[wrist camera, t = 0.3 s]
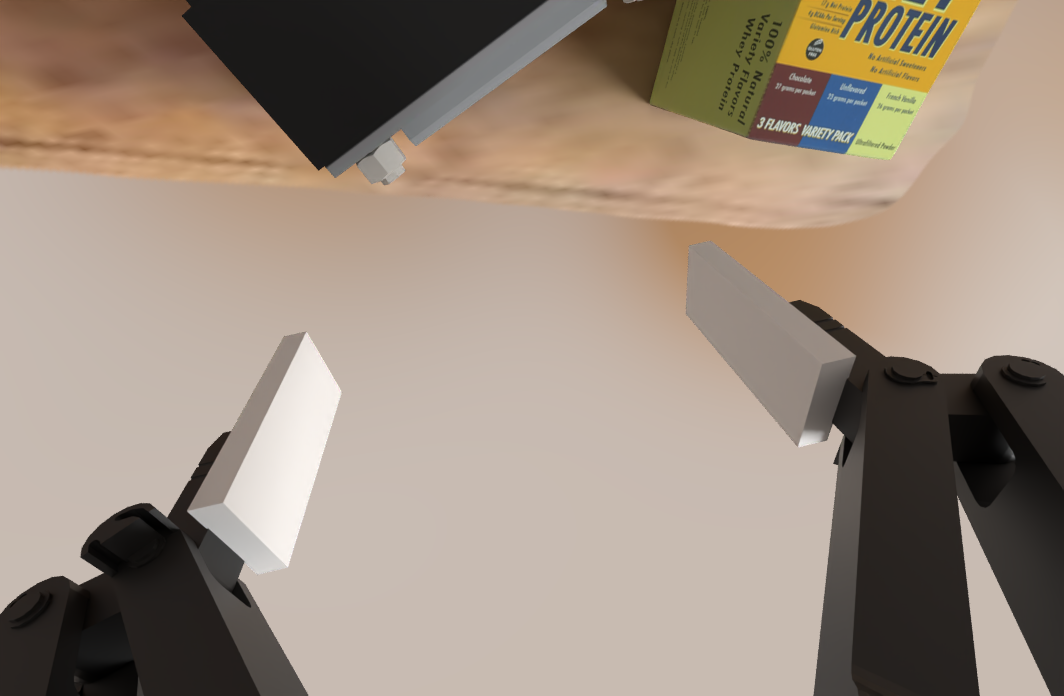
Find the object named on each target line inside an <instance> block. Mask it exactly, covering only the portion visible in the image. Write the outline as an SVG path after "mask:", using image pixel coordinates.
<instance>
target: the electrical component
mask: <svg viewBox="0 0 1064 696" xmlns="http://www.w3.org/2000/svg"><path fill="white" fill-rule="evenodd" d="M186 1H187V2H188V3H189V4H190V6H191V8H190V9H189V10H187V11H186V12H185V13H184V14H183V15H182V17H183V18H184V19H185V20H186V21H187V22H188V24H189V25H190V26H191V27H192V28H193V29H194V30H195V32H196V33H197V34H198V35H199V36H200V37H201V38H202V39H203V41H204V42H205V43H206V44H207V45H208V46H209V47H210V48H211V50H212V51H213V52H214V53H215V54H216V55H217V56H218V58H219V59H220V60H221V61H222V62H223V63H224V64H225V65H226V67H227V68H228V69H229V70H230V71H231V72H232V73H233V74H234V76H235V77H236V78H237V79H238V80H239V81H240V82H241V84H242V85H243V86H244V87H245V88H246V89H247V90H248V91H249V93H250V94H251V95H252V96H253V97H254V98H255V99H256V100H257V102H258V103H259V104H260V105H261V106H262V107H263V108H264V110H265V111H266V112H267V113H268V114H269V115H270V116H271V117H272V119H273V120H274V121H275V122H276V123H277V124H278V125H279V126H280V128H281V129H282V130H283V131H284V132H285V133H286V134H287V136H288V137H289V138H290V139H291V140H292V141H293V142H294V143H295V145H296V146H297V147H298V148H299V149H300V150H301V151H302V152H303V154H304V155H305V156H306V157H307V158H308V159H309V160H310V162H311V163H312V164H313V165H314V166H315V167H316V168H317V169H318V171H319V170H320V169H321V168H323V167H324V166H325V167H326V168H327V169H328V171H329V172H330V173H331V174H332V175H333V176H334V178H336V177H337V176H339V175H340V174H342V173H343V172H344V171H346V170H347V169H348V168H350V167H351V166H352V165H354V164H355V163H356V164H357V167H358V168H359V169H360V171H361V172H362V173H363V174H364V175H365V177H366V178H367V179H368V180H369V181H370V183H371V184H373V183H377V182H380V181H381V182H382V183H383V184H384V185H387V184H390V183H391V182H393V181H394V180H395V179H397V178H398V177H399V176H400V175H401V174H402V173H403V172H404V171H405V169H404V168H403V166H402V165H401V164H402V163H403V162H404V161H405V160H406V157H405V155H404V154H403V153H402V151H401V150H400V149H399V147H398V146H397V144H396V143H395V142H394V140H393V139H392V138H391V136H392V135H394V134H395V133H396V132H398V131H399V130H400V129H402V131H403V132H404V133H405V135H406V136H407V137H408V139H409V140H410V141H411V142H412V143H413V144H414V145H415V146H417V145H418V144H420V143H421V142H422V141H424V140H425V139H426V138H428V137H429V136H431V135H432V134H433V133H435V132H436V131H437V130H439V129H440V128H442V127H443V126H444V125H446V124H447V123H448V122H450V121H451V120H452V119H454V118H455V117H457V116H458V115H459V114H461V113H462V112H463V111H465V110H466V109H468V108H469V107H470V106H472V105H473V104H474V103H476V102H477V101H478V100H480V99H481V98H483V97H484V96H485V95H487V94H488V93H489V92H491V91H492V90H493V89H495V88H496V87H498V86H499V85H500V84H502V83H503V82H504V81H506V80H507V79H509V78H510V77H511V76H513V75H514V74H515V73H517V72H518V71H519V70H521V69H522V68H524V67H525V66H526V65H528V64H529V63H530V62H532V61H533V60H535V59H536V58H537V57H539V56H540V55H541V54H543V53H544V52H545V51H547V50H548V49H550V48H551V47H552V46H554V45H555V44H556V43H558V42H559V41H560V40H562V39H563V38H565V37H566V36H567V35H569V34H570V33H571V32H573V31H574V30H576V29H577V28H578V27H580V26H581V25H582V24H584V23H585V22H586V21H588V20H589V19H591V18H592V17H593V16H595V15H596V14H597V13H599V12H600V11H602V10H603V9H604V8H606V7H607V2H606V0H186ZM634 1H635V0H623V2H624V3H631V2H634ZM637 1H642V0H637Z"/></svg>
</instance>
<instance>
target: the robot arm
mask: <svg viewBox="0 0 1064 696" xmlns="http://www.w3.org/2000/svg"><path fill="white" fill-rule="evenodd" d="M686 314H687V316H688V317H689V318H690V319H691V320H692V322H693V323H694V324H695V325H696V326H697V327H698V329H699V330H700V331H701V332H702V334H703V335H704V336H705V337H706V338H707V340H708V341H709V342H710V343H711V344H712V345H713V346H714V348H715V349H716V350H717V351H718V353H719V354H720V355H721V356H722V357H723V358H724V360H725V361H726V362H727V363H728V365H730V367H731V368H732V369H733V370H734V372H735V373H736V374H737V375H738V376H739V378H740V379H741V380H742V381H743V382H744V384H745V385H746V386H747V387H748V388H749V389H750V391H751V392H752V393H753V394H754V395H755V397H756V398H757V399H758V400H759V401H760V403H761V404H762V405H763V406H764V407H765V409H766V410H767V411H768V412H769V413H770V415H771V416H772V417H773V418H774V419H775V420H776V422H777V423H778V424H779V425H780V426H781V427H782V429H783V430H784V431H785V432H786V434H787V435H788V436H789V437H790V438H791V440H792V441H793V442H794V443H795V444H796V445H797V447H801V446H805V445H810V444H814V443H818V442H822V441H826V440H827V439H828V436H829V433H830V430H831V427H832V424H834V425H835V426H836V427H837V428H838V429H839V430H840V431H841V432H842V433H843V434H844V436H843V439H842V442H841V444H840V447H839V450H838V452H837V455H836V458H835V460H834V463H833V464H836V465H838V473H837V483H836V492H835V502H834V510H833V519H832V529H831V538H830V547H829V557H828V566H827V576H826V585H825V594H824V603H823V613H822V623H821V631H820V642H819V650H818V660H817V669H816V679H815V688H814V696H980V695H979V686H978V677H977V668H976V659H975V650H974V641H973V632H972V623H971V615H970V607H969V597H968V588H967V579H966V571H965V561H964V552H963V544H962V535H961V526H960V517H959V508H958V499H957V496H958V498H959V500H960V502H961V504H962V506H963V508H964V511H965V513H966V515H967V517H968V519H969V521H970V523H971V525H972V527H973V530H974V532H975V534H976V536H977V538H978V540H979V542H980V545H981V547H982V549H983V551H984V553H985V555H986V557H987V560H988V562H989V564H990V566H991V568H992V570H993V572H994V574H995V577H996V578H997V581H998V583H999V585H1000V587H1001V589H1002V591H1003V593H1004V596H1005V598H1006V600H1007V602H1008V604H1009V606H1010V608H1011V611H1012V613H1013V615H1014V617H1015V619H1016V621H1017V623H1018V626H1019V628H1020V630H1021V632H1022V634H1023V636H1024V638H1025V640H1026V643H1027V645H1028V647H1029V649H1030V651H1031V653H1032V655H1033V657H1034V660H1035V662H1036V664H1037V666H1038V668H1039V670H1040V672H1041V675H1042V676H1043V679H1044V681H1045V683H1046V685H1047V687H1048V689H1049V691H1050V694H1051V696H1064V375H1063V374H1061V373H1060V372H1059V371H1057V370H1056V369H1054V368H1052V367H1050V366H1048V365H1046V364H1044V363H1042V362H1039V361H1036V360H1032V359H1029V358H1025V357H1017V356H1010V355H1005V356H1004V355H1003V356H993V357H990V358H988V359H985V360H984V362H983V363H982V365H981V366H980V368H979V370H978V372H977V373H976V374H939V373H938V372H937V371H936V370H934V369H933V368H932V367H930V366H928V365H926V364H924V363H922V362H920V361H917V360H912V359H909V358H904V357H885V356H883V355H882V354H881V353H880V352H878V351H877V350H876V349H874V348H873V347H872V346H870V345H869V344H868V343H866V342H865V341H863V340H862V339H861V338H859V337H858V336H857V335H855V334H854V333H853V332H851V331H850V330H849V329H847V328H844V326H843V325H842V324H840V323H839V322H838V321H837V320H833V318H832V317H831V316H830V315H829V314H827V313H826V312H824V311H823V310H822V309H820V308H819V307H817V306H814V305H812V304H809V303H806V302H804V301H801V300H798V301H793V302H787V301H786V300H785V299H784V298H782V297H781V296H780V295H779V294H777V293H776V292H775V291H774V290H772V289H771V288H770V287H769V286H767V285H766V284H765V283H764V282H762V281H761V280H760V279H758V278H757V277H756V276H755V275H753V274H752V273H751V272H750V271H748V270H747V269H746V268H745V267H743V266H742V265H741V264H740V263H738V262H737V261H736V260H735V259H733V258H732V257H731V256H730V255H728V254H727V253H726V252H724V251H723V250H722V249H721V248H719V247H718V246H717V245H716V244H714V243H713V242H712V241H707V242H703V243H698V244H694V245H690V246H689V256H688V277H687V299H686ZM341 393H342V392H341V390H340V388H339V386H338V385H337V383H336V381H335V380H334V378H333V376H332V374H331V373H330V371H329V369H328V368H327V366H326V364H325V362H324V361H323V359H322V358H321V356H320V354H319V352H318V350H317V349H316V347H315V345H314V343H313V342H312V340H311V338H310V337H309V335H308V333H307V332H302V333H298V334H294V335H289V336H284V337H283V339H282V341H281V343H280V344H279V346H278V348H277V350H276V352H275V353H274V355H273V357H272V359H271V361H270V363H269V364H268V366H267V368H266V370H265V372H264V374H263V375H262V377H261V379H260V381H259V382H258V384H257V386H256V388H255V390H254V391H253V393H252V395H251V397H250V399H249V400H248V402H247V404H246V406H245V408H244V409H243V411H242V413H241V415H240V417H239V418H238V421H237V422H236V424H235V426H234V427H233V429H232V431H229V432H225V433H223V434H222V435H221V436H220V437H219V438H218V439H217V440H216V441H215V442H214V443H213V444H212V445H211V446H210V447H209V448H208V449H207V451H206V453H205V454H204V456H203V458H202V459H201V461H200V463H199V467H197V468H196V470H195V471H194V473H193V475H192V476H191V480H190V481H189V482H188V483H187V485H186V486H185V488H184V490H183V492H182V493H181V495H180V497H179V499H178V500H177V502H176V504H175V505H174V507H173V509H172V510H171V512H170V514H169V515H168V517H165V516H164V515H163V514H162V513H161V512H159V511H158V510H157V509H156V508H155V507H153V506H152V505H151V504H150V503H140V504H136V505H133V506H130V507H127V508H125V509H123V510H121V511H120V512H118V513H116V514H114V515H113V516H111V517H110V518H109V519H107V520H106V521H105V522H103V523H102V524H101V525H100V526H99V527H98V528H97V529H96V530H95V531H94V532H93V533H92V534H91V535H90V536H89V537H88V539H87V540H86V542H85V544H84V545H83V547H82V550H81V558H82V559H84V560H85V561H87V562H88V563H90V564H92V565H93V566H94V567H96V568H98V569H99V570H101V571H102V572H104V573H103V574H101V575H99V576H97V577H95V578H93V579H91V580H89V581H87V582H85V583H82V584H80V585H77V584H76V583H74V582H73V581H71V580H69V579H68V578H66V577H64V576H59V577H51V578H49V579H47V580H44V581H42V582H40V583H37V584H36V585H35V586H33V587H31V588H30V589H28V590H27V591H25V592H23V593H22V594H21V595H19V596H18V597H17V598H16V599H14V600H13V601H12V602H11V603H10V604H9V605H8V606H7V607H6V608H5V609H4V611H3V612H2V613H1V614H0V696H308V694H307V692H306V690H305V688H304V687H303V685H302V683H301V681H300V680H299V678H298V676H297V674H296V673H295V671H294V669H293V667H292V666H291V664H290V662H289V660H288V659H287V657H286V655H285V654H284V652H283V650H282V648H281V646H280V644H279V643H278V641H277V639H276V637H275V636H274V634H273V632H272V630H271V629H270V627H269V625H268V624H267V622H266V620H265V618H264V616H263V615H262V613H261V611H260V609H259V607H258V606H257V604H256V602H255V600H254V599H253V597H252V595H251V593H250V592H249V590H248V588H247V587H246V585H245V584H244V583H243V582H242V581H241V580H240V579H238V577H239V574H240V572H241V569H242V566H243V564H244V563H245V564H246V565H247V566H249V568H251V569H252V570H253V571H254V572H255V573H256V574H262V573H266V572H270V571H275V570H279V569H283V568H287V567H288V565H289V562H290V559H291V556H292V552H293V549H294V546H295V542H296V539H297V536H298V533H299V529H300V526H301V523H302V520H303V517H304V513H305V510H306V507H307V504H308V500H309V497H310V494H311V491H312V487H313V484H314V481H315V478H316V474H317V471H318V468H319V464H320V461H321V458H322V455H323V451H324V448H325V445H326V442H327V438H328V435H329V432H330V428H331V425H332V422H333V419H334V416H335V412H336V409H337V406H338V402H339V399H340V396H341Z"/></svg>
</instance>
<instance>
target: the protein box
mask: <svg viewBox="0 0 1064 696" xmlns="http://www.w3.org/2000/svg"><path fill="white" fill-rule="evenodd" d="M980 1H981V0H677V1H676V4H675V8H674V12H673V16H672V20H671V23H670V27H669V31H668V35H667V38H666V42H665V46H664V50H663V54H662V57H661V61H660V65H659V69H658V72H657V76H656V80H655V84H654V87H653V91H652V95H651V99H650V105H652V106H655V107H658V108H661V109H664V110H667V111H670V112H673V113H676V114H679V115H682V116H685V117H688V118H691V119H694V120H697V121H700V122H703V123H706V124H709V125H712V126H715V127H718V128H720V129H723V130H726V131H729V132H732V133H734V134H737V135H740V136H743V137H746V138H748V139H753V140H758V141H763V142H770V143H775V144H782V145H788V146H794V147H801V148H808V149H815V150H821V151H827V152H834V153H840V154H847V155H853V156H859V157H866V158H873V159H882V160H890V159H891V158H892V156H893V155H894V154H895V152H896V150H897V148H898V147H899V145H900V143H901V141H902V139H903V137H904V136H905V134H906V132H907V130H908V128H909V127H910V125H911V123H912V121H913V119H914V117H915V116H916V114H917V112H918V110H919V108H920V106H921V105H922V103H923V101H924V99H925V97H926V96H927V94H928V92H929V90H930V88H931V87H932V85H933V83H934V82H935V80H936V78H937V76H938V75H939V73H940V71H941V69H942V68H943V66H944V64H945V62H946V61H947V59H948V57H949V56H950V54H951V52H952V50H953V49H954V47H955V45H956V43H957V42H958V40H959V38H960V37H961V35H962V33H963V31H964V30H965V28H966V26H967V24H968V23H969V21H970V19H971V17H972V16H973V14H974V12H975V10H976V8H977V7H978V5H979V3H980Z"/></svg>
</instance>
